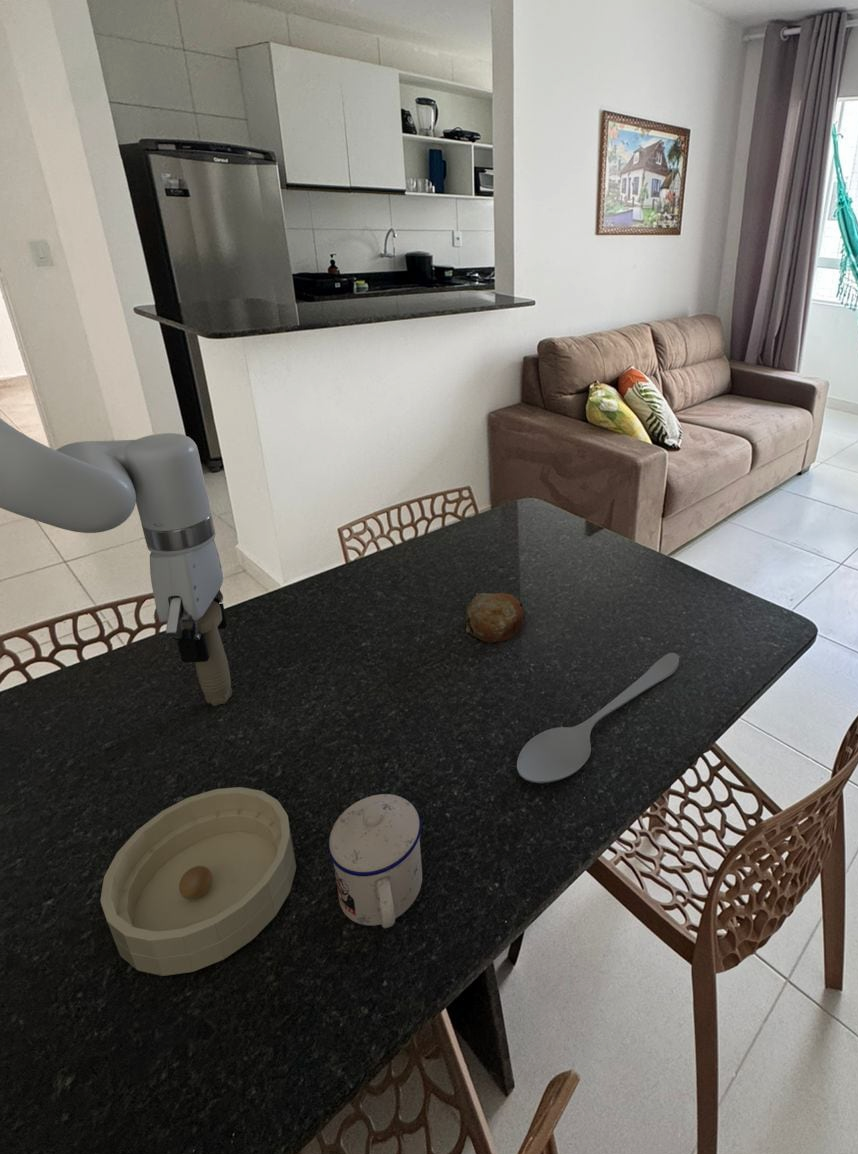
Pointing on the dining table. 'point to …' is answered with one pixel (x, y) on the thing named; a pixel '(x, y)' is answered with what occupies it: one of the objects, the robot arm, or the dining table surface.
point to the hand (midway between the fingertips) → (205, 643)
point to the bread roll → (494, 617)
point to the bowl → (235, 898)
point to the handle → (213, 658)
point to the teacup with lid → (377, 859)
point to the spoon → (580, 733)
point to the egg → (195, 882)
